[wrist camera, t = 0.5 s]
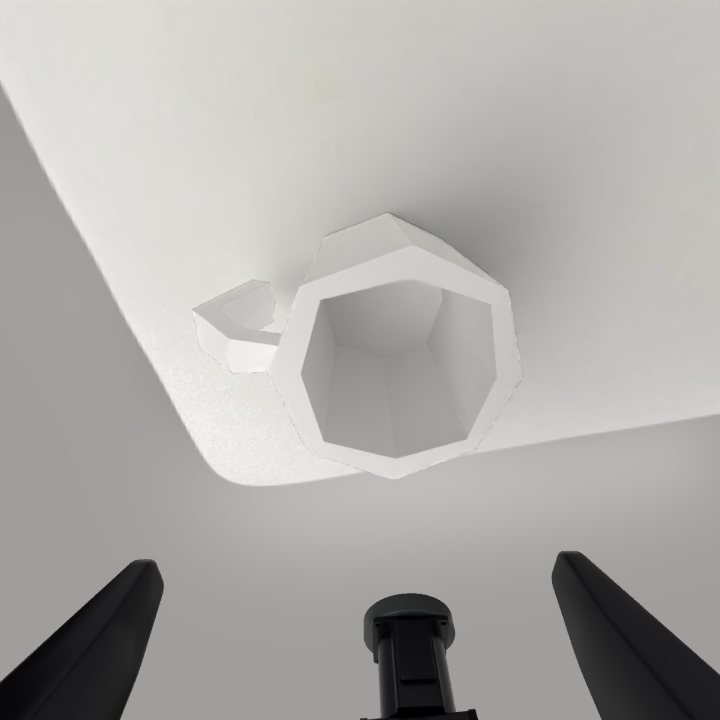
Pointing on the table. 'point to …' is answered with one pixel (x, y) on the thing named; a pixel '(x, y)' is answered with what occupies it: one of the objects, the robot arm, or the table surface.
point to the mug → (378, 348)
